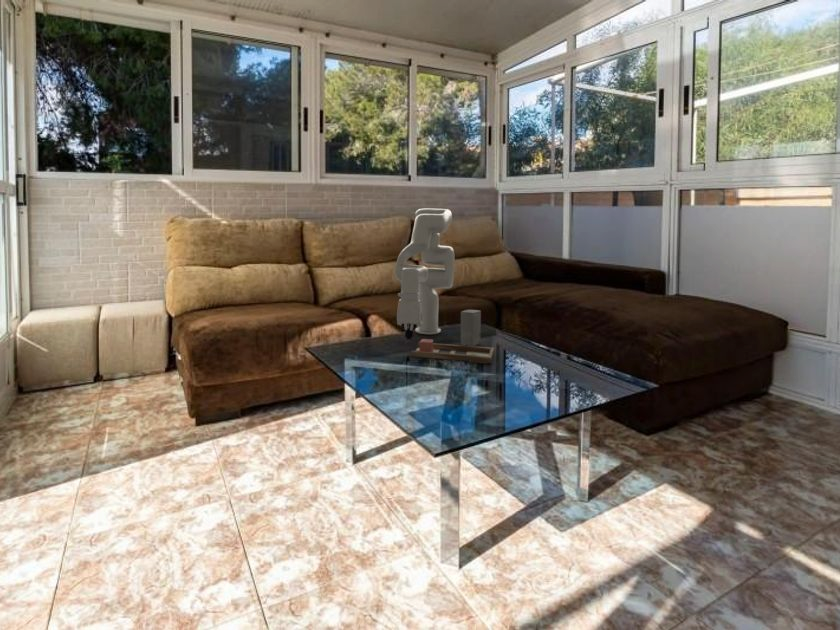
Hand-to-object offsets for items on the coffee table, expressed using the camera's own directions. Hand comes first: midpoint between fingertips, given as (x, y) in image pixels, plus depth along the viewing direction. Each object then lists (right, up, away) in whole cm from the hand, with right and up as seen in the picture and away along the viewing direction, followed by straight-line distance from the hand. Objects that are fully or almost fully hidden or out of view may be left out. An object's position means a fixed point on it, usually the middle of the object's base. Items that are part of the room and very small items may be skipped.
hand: (409, 338), depth 238 cm
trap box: (+18, -7, -2) cm, 19 cm away
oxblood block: (+7, -6, 0) cm, 9 cm away
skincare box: (+27, -3, +15) cm, 32 cm away
